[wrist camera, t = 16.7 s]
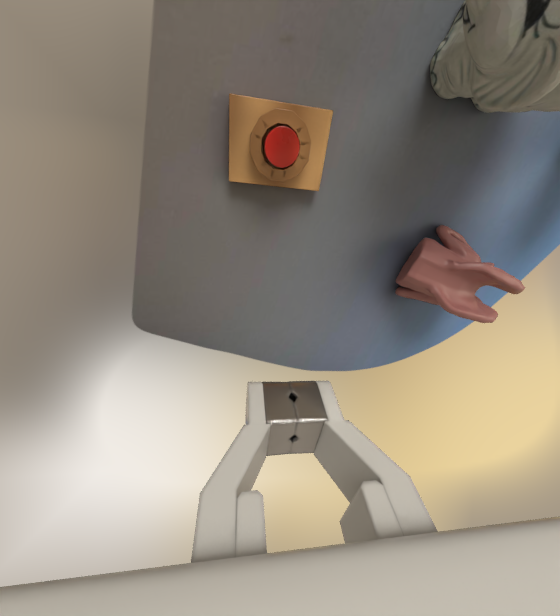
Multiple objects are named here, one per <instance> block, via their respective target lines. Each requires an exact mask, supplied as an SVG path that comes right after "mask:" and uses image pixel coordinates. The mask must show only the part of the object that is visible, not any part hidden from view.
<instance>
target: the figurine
mask: <svg viewBox="0 0 560 616" xmlns="http://www.w3.org/2000/svg"><path fill="white" fill-rule="evenodd" d="M436 233H437V234H438V236H439V238H440V240H441V242H442V243H443V245H444V246H442V245H440V244H439V243H438V242H437V241H435V240H433V239H430V238H424V239H422V240H421V241H420V243H419V244H418V245H417V247H416V248H415V249H414V250H413V252H412V254H411V255H410V257H409V259H408V260H407V262H406V263H405V264H404V266H403V267H402V269H401V271H400V273H399V275H398V277H397V279H396V283H398V284H399V285H400V286H402V287H406V288H402V287H398V288H397V289H396V291H395V293H396V294H397V295H399V296H402V297H406V298H411V299H417V300H420V301H424V302H428V303H431V304H435V305H440V306H441V307H442V308H443V309H444V310H446V311H447V312H449V313H452V314H454V315H456V316H459V317H462V318H466V319H470V320H473V321H478V322H482V323H489V322H490V323H492V322H493V321H494V320H495V319H496V318H497V316H498V313H497V312H496V311H495V310H494V309H492V308H491V307H489V306H487V305H485V304H483V302H482V301H481V300H480V299H479V298H478V297H476V296H475V293H476V291H477V290H478V289H479V288H480V287H482V286H485V285H489V286H494V287H497V288H499V289H501V290H504V291H506V292H509V293H512V294H518V293H520V292H522V291H523V290H524V289H525V287H524V286H523V284H522V282H521V281H520V280H518V279H516V278H515V277H514V276H511V275H509V274H508V273H506V272H505V271H503V270H501V269H499V268H496V267H494V264H493V263H481V259H480V257H479V255H478V254H477V253H476V252H475V251H474V250H473V249H472V248H471V247H470V246H469V245H468V243H467V242H466V240H465V239H464V237H463V236H462V235H460V234H459V233H457V232H456V231H454V230H453V229H451V228H449V227H447V226H445V225H440V226H438V227H437V229H436Z"/></svg>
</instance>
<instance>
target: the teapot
mask: <svg viewBox="0 0 560 616" xmlns="http://www.w3.org/2000/svg"><path fill="white" fill-rule="evenodd" d="M430 76H431V84H432V86H433V89H434V90H435V92H436V93H437V95H439V96H440V97H441V98H445V99H452V98H456V97H459V96H460V97H464V98H470V97H471V99H472V101H473V103H474V105H475V107H476V108H477V109H478V110H480V111H482V112H485V113H491V112H496V111H501V112H527V111H530V110H536V111H545V112H551V111H560V0H465V1H464V3H463V5H462V7H461V9H460V11H459V13H458V15H457V17H456V19H455V21H454V23H453V25H452V27H451V29H450V31H449V33H448V35H447V36H446V38H445V39H444V40H443V42H442V43H441V44H440V46H439V47H438V49H437V51H436V53H435V55H434V57H433V59H432V61H431V66H430Z"/></svg>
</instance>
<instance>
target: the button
mask: <svg viewBox="0 0 560 616" xmlns="http://www.w3.org/2000/svg"><path fill="white" fill-rule="evenodd" d="M299 149H300V144H299V139H298V137H297V135H296V133H295V132H294V131H293V130H292V129H290V128H289V127H286V126H279V127H276V128H274V129H272V130H271V131H270V132H269V133H268V134H267V136H266V138H265V141H264V153H265V156H266V158H267V159H268V161H269V162H270V163H271V164H273V165H274V166H276V167H280V168H284V167H288V166H290V165H291V164H293V163H294V161H295V160H296V159H297V157H298V154H299Z"/></svg>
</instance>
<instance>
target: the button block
mask: <svg viewBox="0 0 560 616" xmlns="http://www.w3.org/2000/svg"><path fill="white" fill-rule="evenodd" d="M332 114H333V110H327V109H321V108H315V107H309V106H303V105H296V104H290V103H284V102H278V101H272V100H266V99H260V98H254V97H248V96H242V95H236V94H229V181H232V182H241V183H250V184H259V185H269V186H278V187H287V188H296V189H305V190H314V191H319V187H320V181H321V176H322V170H323V165H324V159H325V153H326V148H327V142H328V136H329V131H330V125H331V120H332ZM279 126H286V127H289V128H290V129H292V130H293V131H294V132H295V133H296V135H297V137H298V139H299V144H300V149H299V154H298V157H297V159H296V160H295V161H294V163H293V164H291V165H290V166H288V167H284V168H280V167H276V166H274V165H273V164H271V163H270V162H269V161H268V159H267V158H266V156H265V153H264V141H265V138H266V136H267V134H268V133H269V132H270V131H271V130H272V129H274V128H276V127H279Z"/></svg>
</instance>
